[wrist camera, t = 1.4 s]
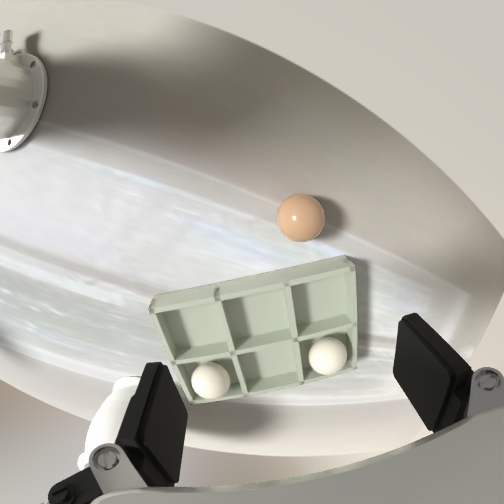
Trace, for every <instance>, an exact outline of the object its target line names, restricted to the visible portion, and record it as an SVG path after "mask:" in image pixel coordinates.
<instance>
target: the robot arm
mask: <svg viewBox="0 0 504 504" xmlns="http://www.w3.org/2000/svg"><path fill="white" fill-rule="evenodd" d="M12 37H13V31H11V30H6V31H4V32H2V33H1V34H0V152H7V151H11V150H12V149H14V148H16V147H18V146H19V145H20V144H21V143H23V142H24V140H25V139H26V138H27V137H28V136H29V135H30V133H31V132H32V130H33V129H34V127H35V125H36V123H37V121H38V120H39V118H40V115H41V112H42V110H43V107H44V103H45V100H46V94H47V73H46V69H45V67H44V64H43V63H42V62H41V60H40V59H39V58H37V57H36V56H34V55H31V54H27V53H21V54H16V55H13V53H14V51H13V49H11V44H12ZM393 374H394V377H395V379H396V380H397V382H398V383H399V385H400V386H401V388H402V389H403V391H404V392H405V394H406V396H407V397H408V399H409V400H410V402H411V403H412V405H413V407H414V408H415V410H416V411H417V413H418V414H419V416H420V418H421V419H422V421H423V422H424V424H425V426H426V427H427V429H428V430H430V431H431V430H432V431H433V434H431V435H429V436H426V437H424V438H422V439H420V440H417V441H415V442H413V443H410V444H408V445H405V446H403V447H400V448H397V449H395V450H392V451H389V452H387V453H384V454H381V455H378V456H376V457H372V458H369V459H366V460H363V461H360V462H356V463H353V464H350V465H346V466H342V467H339V468H334V469H331V470H327V471H322V472H318V473H313V474H309V475H304V476H299V477H293V478H288V479H281V480H275V481H268V482H260V483H251V484H241V485H228V486H208V487H174V484H175V483H178V481H179V475H180V468H181V460H182V453H183V446H184V439H185V432H186V425H187V418H188V414H187V410H186V408H185V405H184V403H183V401H182V399H181V397H180V395H179V392H178V390H177V388H176V386H175V383H174V381H173V379H172V376H171V374H170V372H169V369H168V367H167V366H166V365H163V364H162V363H161V362H153V363H147V364H146V366H145V368H144V371H143V373H142V376H141V379H140V381H139V384H138V387H137V389H136V392H135V395H133V396H132V397H131V399H130V401H129V404H128V407H127V409H126V412H125V415H124V418H123V420H122V423H121V426H120V429H119V432H118V435H117V437H116V440H115V443H114V444H112V443H106V444H102V445H99V446H98V447H96V448H95V449H94V450H93V451H92V452H91V454H90V456H89V465H90V466H89V467H87V468H85V469H83V470H82V471H80V472H78V473H76V474H74V475H72V476H70V477H68V478H67V479H65V480H63V481H61V482H59V483H57V484H55V485H54V486H53V487H52V488H51V489H50V491H49V494H48V500H49V502H48V503H47V504H504V377H503V375H502V374H501V373H500V372H499V371H498V370H496V369H494V368H490V367H483V368H480V369H478V370H476V371H475V372H473V371H472V370H471V367H470V366H469V365H468V364H467V363H466V362H465V360H464V359H463V358H462V357H461V356H460V355H459V354H458V353H457V352H456V351H455V350H454V349H453V348H452V347H451V346H450V345H449V344H448V343H447V342H446V341H445V340H444V339H443V338H442V337H441V336H440V335H439V334H438V333H437V332H436V331H435V330H434V329H433V328H432V327H431V326H430V325H429V324H428V323H427V322H425V321H424V320H423V319H422V318H421V317H420V316H419V315H418V314H417V313H412V314H409V315H405V316H403V317H402V320H401V321H399V324H398V334H397V343H396V352H395V359H394V366H393ZM42 504H46V503H44V502H43V503H42Z"/></svg>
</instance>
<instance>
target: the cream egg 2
mask: <svg viewBox="0 0 504 504" xmlns="http://www.w3.org/2000/svg"><path fill="white" fill-rule="evenodd" d="M346 360H347V350H346V348H345V346H344V344H343V343H342V342H341V341H340V340H338V339H336V338H333V337H324V338H321V339H319V340H317V341H316V342H315V343H314V344H313V345H312V347H311V348H310V351H309V363H310V365H311V367H312V368H313V369H314V370H315V371H316V372H317V373H319V374H322V375H332V374H335V373H337V372H338V371H340V370H341V369H342V368H343V366H344V365H345V363H346Z"/></svg>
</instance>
